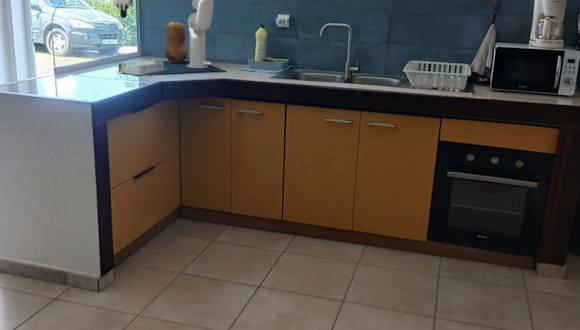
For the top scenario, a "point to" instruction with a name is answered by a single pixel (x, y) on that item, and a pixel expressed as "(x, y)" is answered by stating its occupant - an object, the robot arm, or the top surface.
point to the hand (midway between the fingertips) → (123, 17)
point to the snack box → (141, 67)
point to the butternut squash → (175, 42)
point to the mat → (146, 74)
